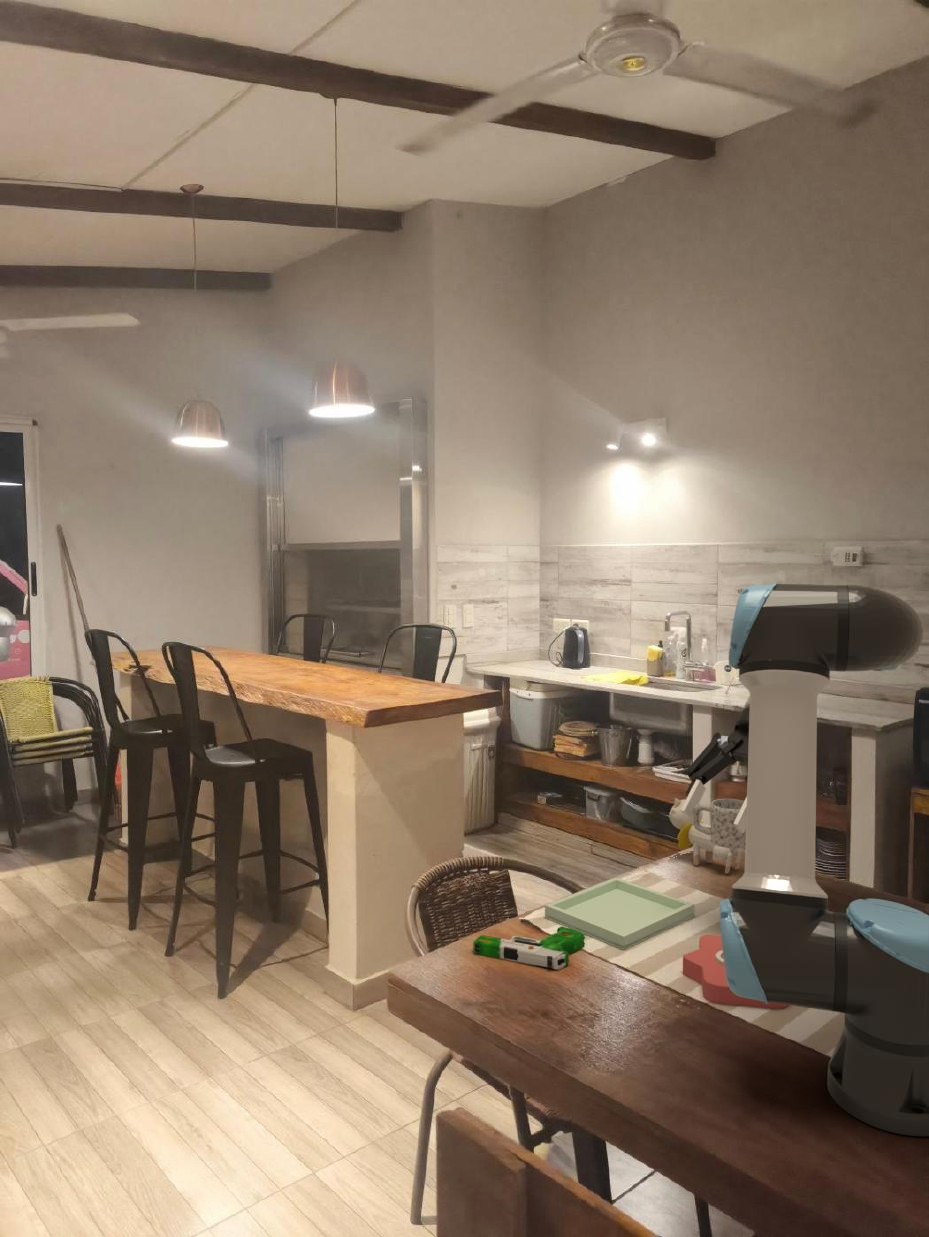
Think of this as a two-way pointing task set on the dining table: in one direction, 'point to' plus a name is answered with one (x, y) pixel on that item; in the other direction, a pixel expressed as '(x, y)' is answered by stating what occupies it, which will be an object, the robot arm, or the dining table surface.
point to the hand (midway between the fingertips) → (711, 821)
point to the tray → (619, 912)
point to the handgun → (533, 948)
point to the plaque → (715, 974)
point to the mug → (722, 822)
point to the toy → (700, 839)
